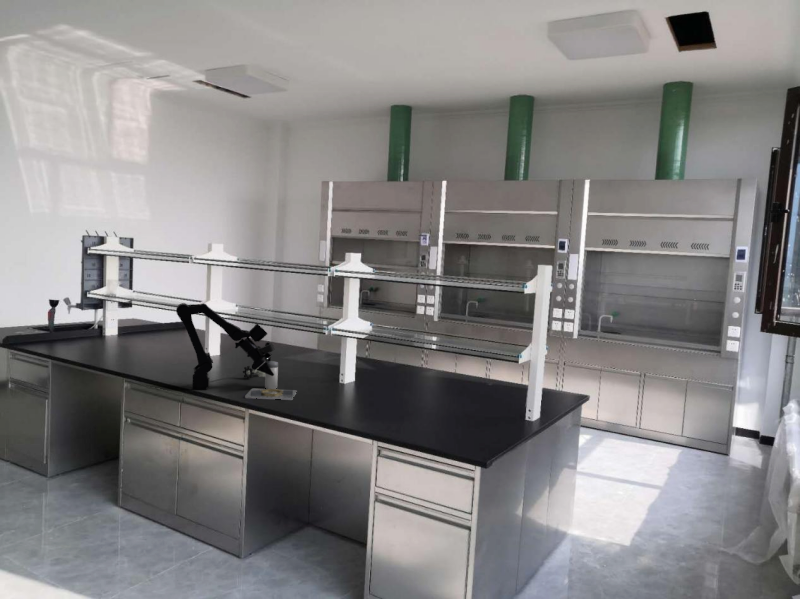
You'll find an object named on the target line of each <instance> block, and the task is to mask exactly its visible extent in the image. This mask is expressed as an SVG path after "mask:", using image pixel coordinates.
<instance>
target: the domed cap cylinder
mask: <svg viewBox="0 0 800 599" xmlns="http://www.w3.org/2000/svg"><path fill="white" fill-rule="evenodd" d="M268 366H269V367H270V369H271V370H272V372H273V373H274V375H273V376H271V375H268V374H266V373H265V377H264V389H265V388H266V389H276V388H277V389H278V378H279V375H278V374H279V362H278V361H274V360H271V361H268Z"/></svg>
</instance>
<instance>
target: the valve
mask: <svg viewBox="0 0 800 599" xmlns="http://www.w3.org/2000/svg"><path fill="white" fill-rule="evenodd" d="M258 368H259V367H258ZM258 368H257V369H258ZM243 369H244V370H243V371H242V374H244V375H243V378H246V379H247V380H250V379H253V377H254V376H252V375H254V374H256V375H257V376H258V377H259V378H265V373H264V372H261V371H258V370H257V369H256V370H255V371H254V370H253V369H252V367H251V366H250V365H247V366H244V367H243Z"/></svg>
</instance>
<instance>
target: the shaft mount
mask: <svg viewBox="0 0 800 599" xmlns="http://www.w3.org/2000/svg"><path fill="white" fill-rule="evenodd" d="M296 392H297V393H298V390H295V389H279V388H277V389H265V388H257V387H256V388H255V387H254V388H251V389H250V390H249V391H248V392H247V393H246V394H245V396H244V399H254V400H255V399H256V398H257V400H258V399H260V400H275V399H281V401H293V399H294V398H293V397H295V396H296V394H297V393H296Z"/></svg>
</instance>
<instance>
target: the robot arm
mask: <svg viewBox="0 0 800 599" xmlns="http://www.w3.org/2000/svg"><path fill="white" fill-rule="evenodd" d="M175 311H176V315H177V316H178V318H179V320H180V321H181V323H182V324H183V325H184V327H185V331H186V332H187V335H188V338H189V339H190V342H191V344H192V347H193V350H194V352H195V354H196V359H197V363H198V364H197V365H195V367H194V368H193V374H192V387H191V390H197V391H198V390H200V391H202V390H208V388H210V376H209V372H211V370H212V369H213V364H214V362H213V359H212V357H211V353H210V351H209V352H206V351H205V349H204V346H203V345H202V342H201V339H200V336H199V334H198V332H197V330H196V326H195V325H194V322H193V318H192V315H198V314H203V315H204V316H205V317H207V318H208V319H210V320H211V321H212V322H213V323H214V324H216V325H217V326H219V327H220V328H221V329H222V330H224V332H225V333H226V334H227V335H228V337H230V338H231V339H232V340H233V342H234V341H235V342H234V344H235V346H234V348H235V349H238V348H239V347H240V349H241V350H242V351H243V352H244V353H245V354H246V357H247V358H249V359H251V360H252V361H253V363H252V364H251V368H252V369H253V370H254V371H255V370H256V369H257V368H258V367H259V368H258V369H257V370H258V371H261V372H264V373H266V374H268V375H271V376H273V375H274V373H273V372H272V370H271V369H270V367H269V366H268V361H272V355H273V354H272V352H273V351H274V350H275V345H274V344H273V343H271V342H270V341H268V342H265V344H264V346H260V345H257V344H256V343H260V342H261V341H262V340H263V339H264V338H265V337H266V336H267V335H268V332H267V331H266V330H265V329H264V328H263V327H262V326H260V324H258V323H255V325H254V326H253V327H252V328H250V329H249V330H245V329H242V328H241V327H238V326H237V325H235V324H233V323H231V322H229V321H227V320H226V319H225V318H223V317H222V316H221V315H220V314H219V313H217V312H215V310H213V309H212V308H211V307H209V306H208V305H207V304H206V303H195V304H192V303H191V304H187V303H184V302H183V303H179V304H178V305H177V306H176V310H175Z"/></svg>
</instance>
